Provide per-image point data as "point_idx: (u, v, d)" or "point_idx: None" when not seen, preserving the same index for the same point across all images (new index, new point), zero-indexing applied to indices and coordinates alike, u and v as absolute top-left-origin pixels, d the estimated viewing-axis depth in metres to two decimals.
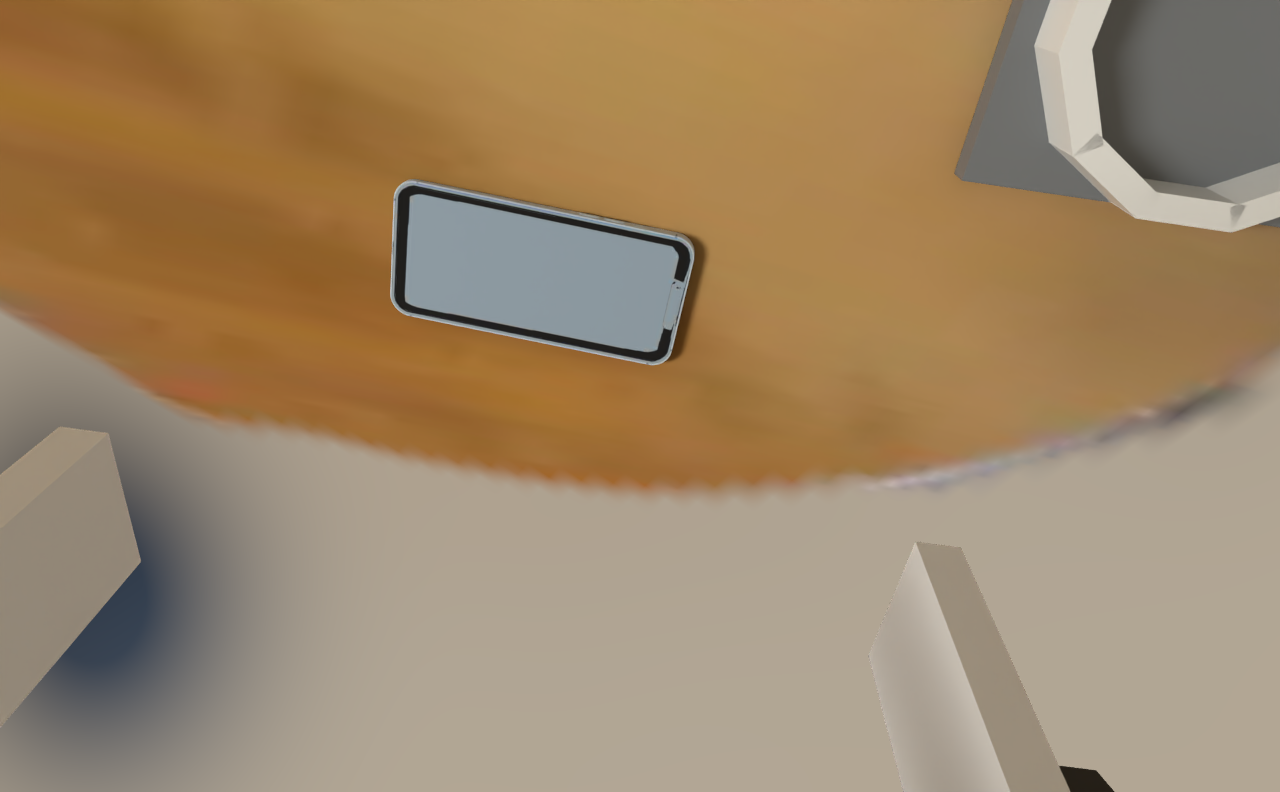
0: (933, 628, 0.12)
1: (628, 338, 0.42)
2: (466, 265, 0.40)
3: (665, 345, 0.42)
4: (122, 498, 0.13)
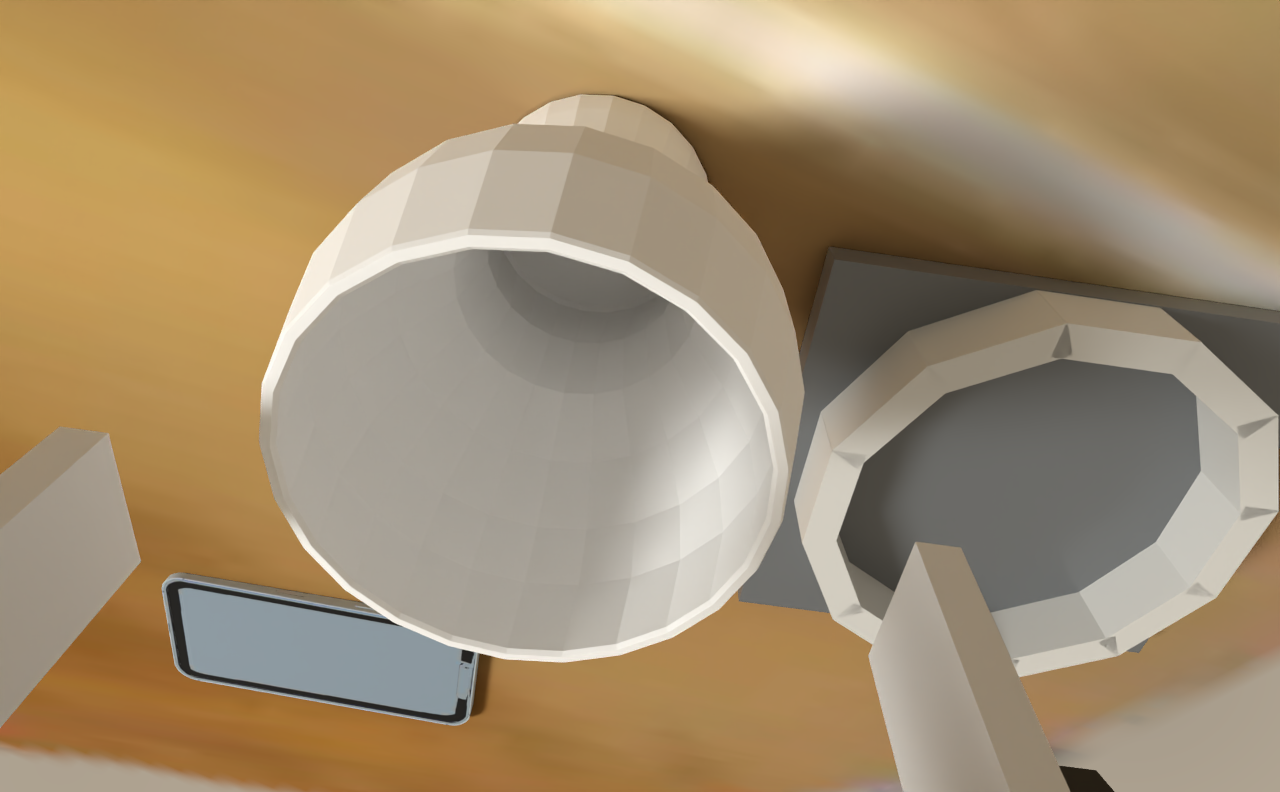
0: (933, 628, 0.12)
1: (423, 704, 0.40)
2: (247, 644, 0.39)
3: (462, 710, 0.40)
4: (122, 499, 0.13)
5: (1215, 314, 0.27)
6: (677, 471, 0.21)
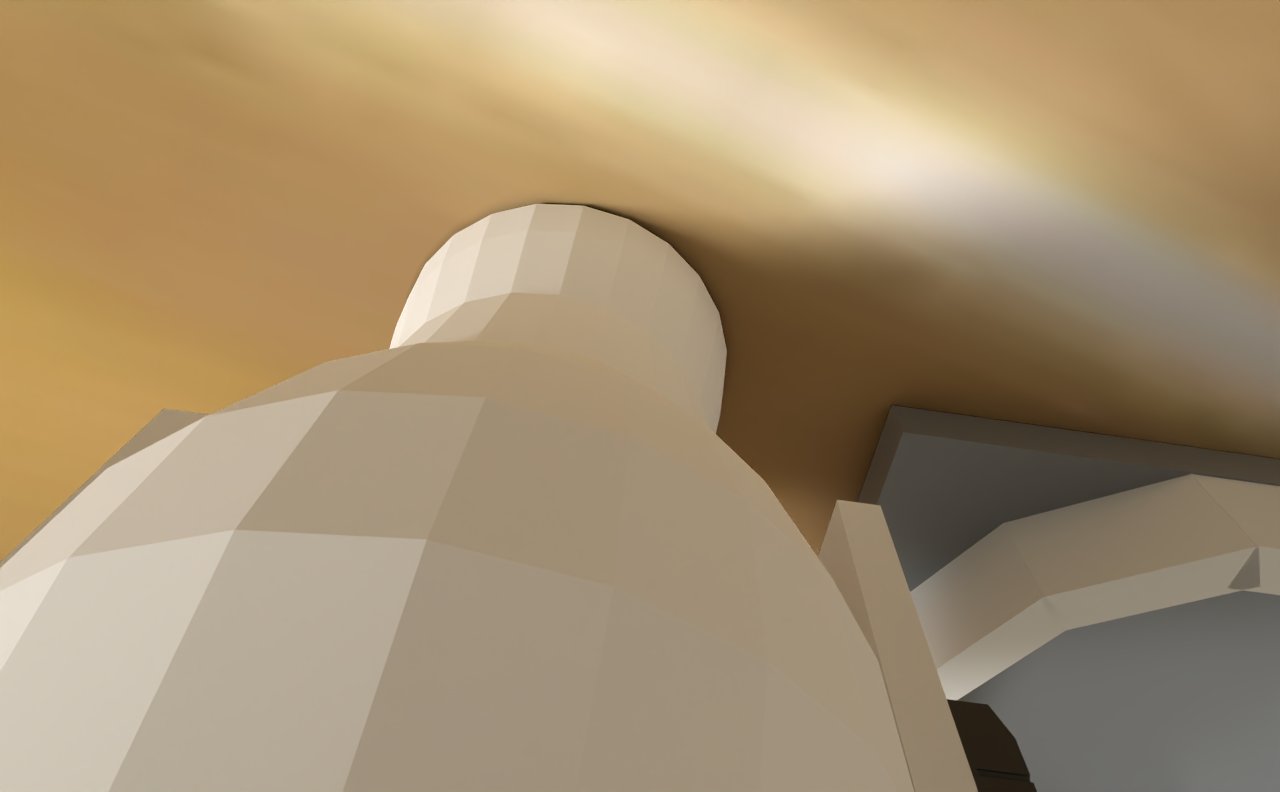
0: (847, 578, 0.12)
1: None
2: None
3: None
4: None
5: None
6: None
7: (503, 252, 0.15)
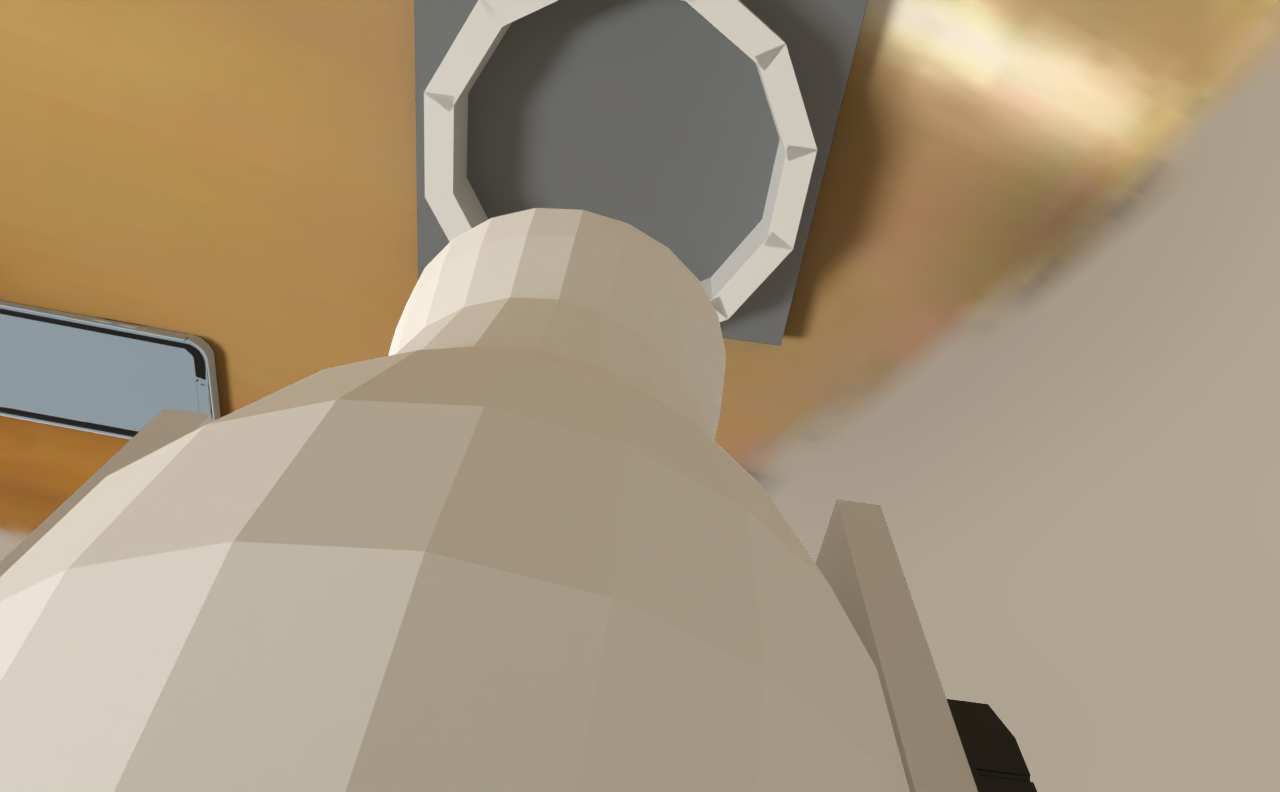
0: (846, 577, 0.12)
1: None
2: (6, 365, 0.43)
3: None
4: None
5: None
6: None
7: (502, 256, 0.15)
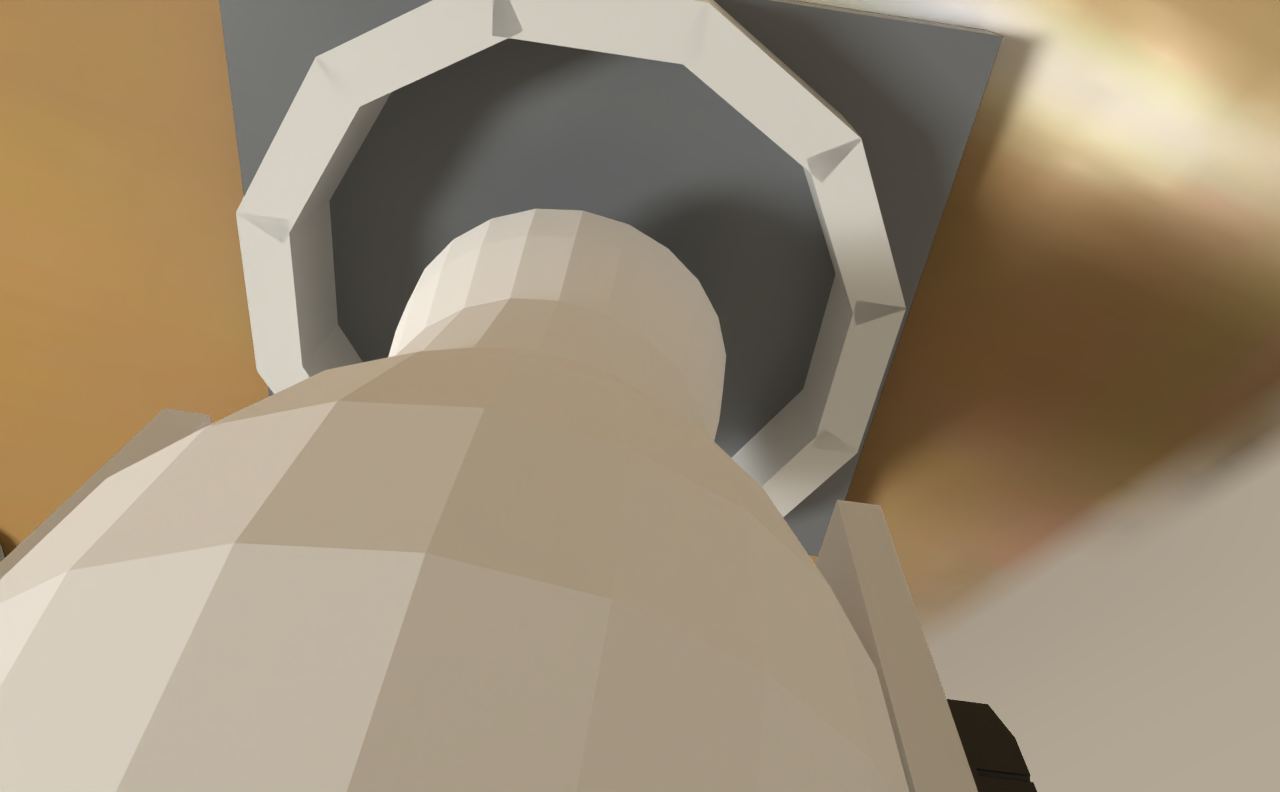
0: (846, 577, 0.12)
1: None
2: None
3: None
4: None
5: (789, 4, 0.18)
6: None
7: (503, 257, 0.15)
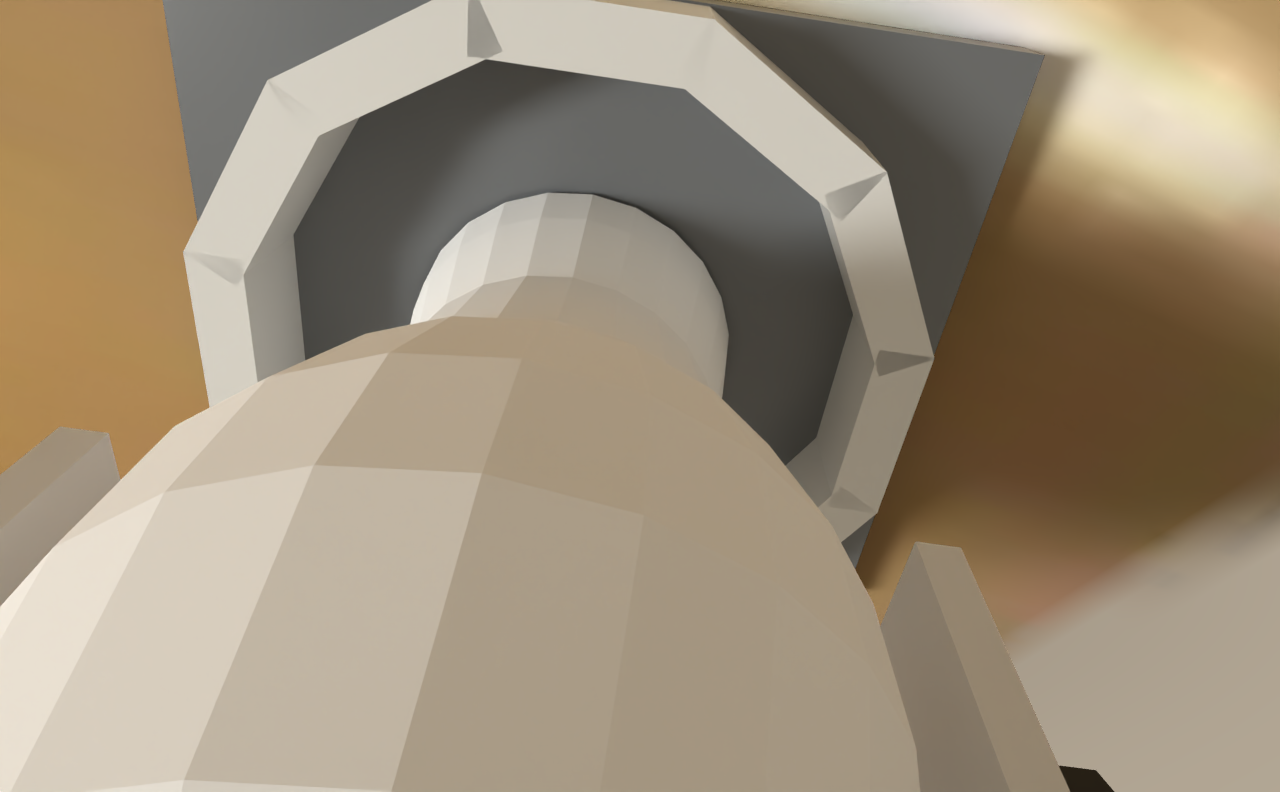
0: (932, 629, 0.12)
1: None
2: None
3: None
4: None
5: (804, 19, 0.16)
6: None
7: (518, 238, 0.16)
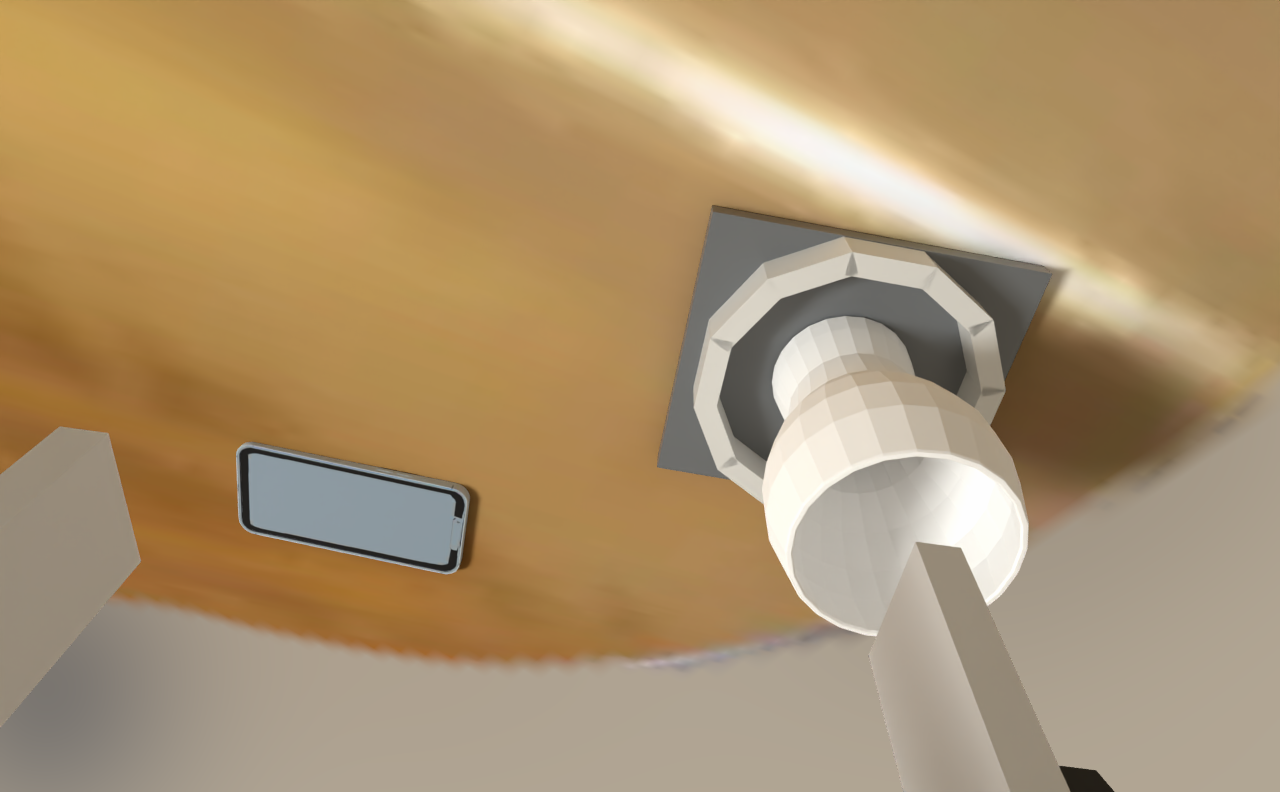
0: (932, 628, 0.12)
1: (425, 555, 0.53)
2: (295, 501, 0.52)
3: (454, 560, 0.54)
4: (122, 498, 0.13)
5: (960, 257, 0.41)
6: (922, 541, 0.38)
7: (844, 336, 0.41)
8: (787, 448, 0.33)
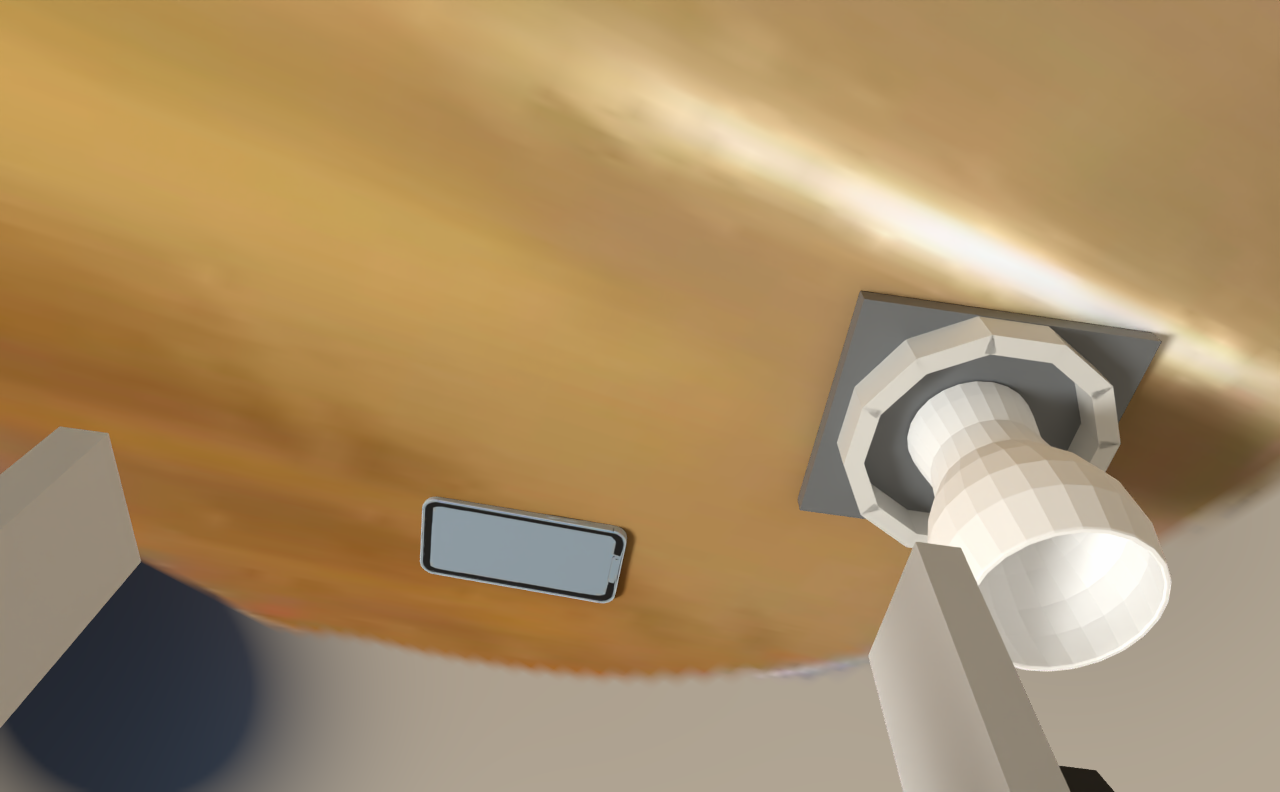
0: (932, 628, 0.12)
1: (584, 587, 0.60)
2: (472, 545, 0.59)
3: (610, 591, 0.60)
4: (123, 498, 0.13)
5: (1080, 330, 0.47)
6: (1058, 583, 0.45)
7: (979, 402, 0.47)
8: (958, 518, 0.40)
